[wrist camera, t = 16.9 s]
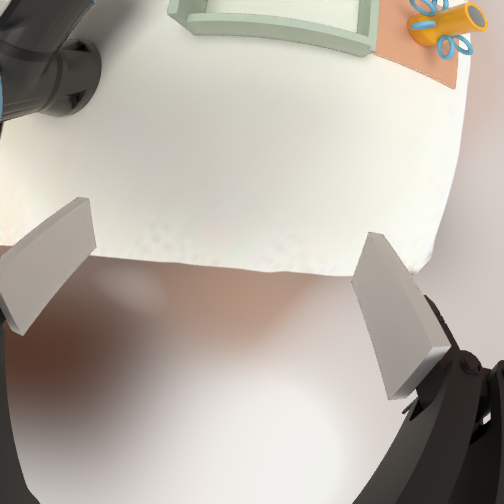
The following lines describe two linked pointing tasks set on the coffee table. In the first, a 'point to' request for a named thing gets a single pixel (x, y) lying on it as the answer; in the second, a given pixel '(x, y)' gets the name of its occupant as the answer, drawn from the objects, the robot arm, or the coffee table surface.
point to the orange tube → (446, 25)
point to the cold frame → (280, 26)
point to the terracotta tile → (412, 42)
